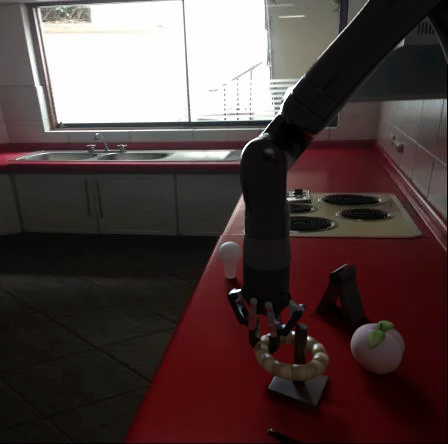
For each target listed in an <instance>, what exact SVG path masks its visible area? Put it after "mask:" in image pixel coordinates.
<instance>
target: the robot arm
mask: <svg viewBox="0 0 448 444" xmlns="http://www.w3.org/2000/svg"><path fill="white" fill-rule="evenodd" d="M425 19H427V20H428V22H429V24H430V25H431V26H432V29H433V30H434V32H435V34H436V36H437V39H438V41H439V44H440V46H441V49H442V52H443V55H444V58H445V61H446V64H447V65H448V0H367V1H366V3H365V4H364V5H363V7H361V9H360V10H359V11H358V12H357V13H356V15H355V16H353V18H352V20H350V22H349V23H348V24H347V25H346V26H345V27H344V28H343V29H342V31H340V33H339V34H338V35H337V36H336V37H335V38H334V39H333V40H332V41H331V43H329V44H328V45H327V47H326V48H325V49H324V50H323V51H322V52H321V53H320V54H319V56H317V58H316V59H315V60H314V61H313V62H312V64H311V65H310V66H309V67H308V68H307V70H306V72H304V73H303V75H302V76H301V78H300V79H299V80H298V82H297V83H296V84H295V85H294V86H293V88H292V89H291V90H290V92H289V93H288V94H287V96H286V97H285V98H284V100H283V102H282V103H281V105H280V110H279V112H278V113H277V114H276V116H275V117H274V118H273V119H272V121H271V122H270V123H269V124H268V125H267V127H265V129H264V131H262V132H261V134H260V135H259V136H258V137H256V138H254V139H252V140H250V141H249V142H248V143H247V144H246V145H245V146H244V147H243V149H242V152H241V154H240V159H239V181H240V186H241V193H242V199H243V202H244V216H243V217H244V219H243V220H244V223H243V224H244V228H243V229H244V233H243V234H244V235H243V240H242V285H241V288H240V289H238V288H233V289H231V291H230V292H229V293H228V294H227V295H226V299H227V301H228V302H229V305H230V307H231V309H232V312H233V314H234V315H235V318H236V320H237V323H238V324H239V325H240V326H246V327H247V329H248V344H249V345H250V346H251V349H253V350H254V347H255V345H256V344H257V342H258V341H259V340H260V338H261V325H259V324H260V323H261V317H262V316H265V317H266V319H267V325H268V327H269V333H270V335H269V353H270V355H271V356H273V355H274V354H275V353H277V351H278V350H279V349H280V347H281V345H280V336H283V337H287V336H288V334H289V333H290V332H291V331H293V329H295V325H296V324H298V322H299V321H300V320H301V318H302V317H303V316H304V313H305V312H306V311H307V306H306V304H304V303H301V304H300V303H297V302H295V301H294V300H293V297H292V294H291V292H290V280H291V279H290V276H291V260H292V250H291V249H292V248H291V247H292V245H291V233H290V232H291V205H290V202H289V200H288V199H287V192H288V191H287V188H288V187H287V185H288V183H287V182H288V172H289V171H290V170H291V169H292V168H293V166H294V165H295V164H296V163H297V162H298V160H299V159H300V158H301V156H302V155H303V154H304V153H305V151H306V150H307V149H308V148H309V146H310V145H311V144H312V142H313V141H314V139H315V138H316V136H318V135H319V134H321V133H322V132H323V131H324V130H325V129H326V128H327V127H328V126H329V125H330V124H331V122H332V121H334V119H335V118H336V117H337V116H338V115H339V114H340V112H341V111H342V110H343V109H344V108H345V107H346V106H347V104H348V103H349V102H350V101H351V100H352V99H353V97H354V96H355V95H356V94H357V93H358V91H359V90H361V88H362V87H363V86H364V84H365V83H366V82H367V81H368V80H369V79H370V77H371V76H372V75H373V74H374V73H375V71H376V70H377V69H378V68H379V67H380V66H381V65H382V64H383V63H384V61H385V60H387V58H388V57H389V56H390V55H391V54H392V53H393V51H394V50H395V49H396V48H397V47H398V46H399V45H400V44H401V43H402V42H403V40H405V38H407V36H409V34H411V33H412V32H413V31H414V30H415V29H416V28H417V27H418V26H419V24H421V23H422V22H423V21H424V20H425ZM244 301H245V302H244ZM245 303H246V304H247V306H246V304H245ZM247 307H249V309H248V308H247ZM287 307H288V309H289V310H288V315H289V319H288V320H287V322H286V323H285V324H282V318H283V317H282V312H283V311H284V310H285V309H286V308H287Z"/></svg>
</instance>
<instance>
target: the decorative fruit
mask: <svg viewBox="0 0 448 444" xmlns="http://www.w3.org/2000/svg"><path fill="white" fill-rule="evenodd" d="M394 327H395V325H394V324H393V322H391V321H389V320H380V321H378V322H377V323H366V324H363V325H361V326H360V327H358V328H357V329H356V330H355V332H354V333H353V334H352V337H351V341H350V350H351V353H352V356H353V357H354V359H355V360H356V362H357V363H358V364H359V365H360V366H361V367H362V368H363V369H364V370H365V371H367V372H369V373H371V374H375V375H387V374H390V373H392V372H394V371H395V370H396V369H397V368H399V366H400V364H401V363H402V360H403V355H404V351H405V341H404V338H403V337H402V335H401V334H400V332H399V331H397V329H396V328H394Z"/></svg>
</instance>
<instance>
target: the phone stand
mask: <svg viewBox="0 0 448 444" xmlns="http://www.w3.org/2000/svg"><path fill="white" fill-rule="evenodd" d="M347 266H348V267H347ZM356 278H357V268H356V267H355V266H354V264H351V265H350V266H349V263H346V264H344V265H342V266H341V267H339V268H337V269H336V270H334V271H332V272H331V273H329V275H328V285H327V286H326V289H325V290H324V293H323V294H322V296H321V299H320V301H319V302H318V304H317V306H316V308H315V310H314V312H315V313H317V314H320V315H323V314H325V313H326V312H327V311H329V310H330V309H332V308H333V307H335V306H336V305H337V302H338V299H339V304H340V309H341V315H342V320H343V324H345V325H348V326H351V327H353V326H354V325H356V324H357V323H358V322H359V321H360V320H362V319H363V318H364V317H365V316H366V313H365V309H364V305H363V302H362V299H361V298H362V297H361V294H360V291H359V287H358V283H357V279H356Z"/></svg>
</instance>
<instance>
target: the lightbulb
mask: <svg viewBox="0 0 448 444" xmlns="http://www.w3.org/2000/svg"><path fill="white" fill-rule="evenodd" d="M242 257H243V250H242V248H241V246H240V245H239V244H238V243H236V242H234V241H226V242H224V243H222V244H221V245H220V247H219V248H218V258H219V261H221V263H222V266H223V271H224V275H225V276H224V277H225V278H226V279H230V280H232V279H235V278H236V272H237V267H238V264H239V262H240V261H241V259H242Z"/></svg>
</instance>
